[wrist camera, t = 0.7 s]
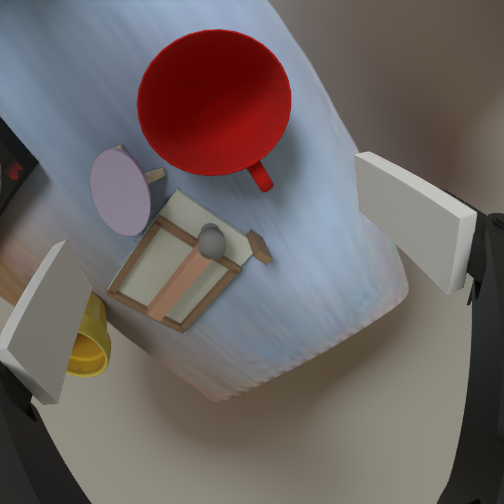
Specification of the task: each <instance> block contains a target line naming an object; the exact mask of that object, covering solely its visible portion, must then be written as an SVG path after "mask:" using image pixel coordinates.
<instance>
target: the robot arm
mask: <svg viewBox="0 0 504 504" xmlns="http://www.w3.org/2000/svg"><path fill="white" fill-rule="evenodd" d="M354 158H355V167H356V177H357V189H358V202H359V211H360V212H361V213H362V214H364V215H365V216H366V217H367V218H368V219H369V220H370V221H371V222H373V223H374V224H375V225H376V226H377V227H378V228H379V229H380V230H381V231H382V232H384V233H385V234H386V235H387V236H388V237H389V238H390V239H391V240H392V241H393V242H394V243H395V244H396V245H397V246H399V247H400V248H401V249H402V250H403V251H404V252H405V253H406V254H407V255H408V256H409V257H410V258H411V259H412V260H413V261H414V262H415V263H416V264H417V265H418V266H419V267H420V268H421V269H422V270H423V271H424V272H425V273H426V274H427V275H428V276H429V277H430V278H431V279H432V280H433V281H434V282H435V283H436V284H437V285H438V286H439V287H440V288H441V289H442V290H443V291H444V293H446V295H449V294H451V293H453V292H455V291H457V290H459V289H461V288H463V287H464V283H465V279H466V274H467V273H469V274H470V275H471V276H472V277H473V278H474V280H473V284H472V288H471V292H470V295H469V299H468V303H467V305H470V303H471V301H472V338H471V356H470V369H469V379H468V388H467V396H466V403H465V410H464V416H463V422H462V427H461V432H460V438H459V442H458V447H457V451H456V456H455V460H454V464H453V468H452V471H451V475H450V478H449V481H448V483H447V486H446V487H445V489H444V491H443V492H442V494H441V496H440V498H439V500H438V502H437V504H504V214H502V213H493V214H489V215H488V216H487V215H485V214H484V213H482V212H480V211H479V210H477V209H476V208H474V207H473V206H471V205H470V204H468V203H466V202H464V201H463V200H462V199H460V198H457V197H456V196H455V195H453V194H452V193H450V192H448V191H447V190H443V189H440V188H437V187H435V186H433V185H431V184H430V183H428V182H426V181H425V180H423V179H421V178H419V177H417V176H415V175H414V174H412V173H410V172H408V171H406V170H405V169H403V168H401V167H399V166H397V165H395V164H393V163H391V162H389V161H387V160H385V159H383V158H381V157H379V156H377V155H375V154H373V153H371V152H364V153H359V154H354ZM92 289H93V287H92V286H91V284H90V282H89V281H88V279H87V277H86V275H85V273H84V272H83V270H82V268H81V266H80V264H79V263H78V261H77V259H76V257H75V255H74V253H73V251H72V249H71V247H70V246H69V244H68V242H67V240H64V241H62V242H59V243H57V244H54V245H53V247H52V248H51V249H50V251H49V252H48V254H47V255H46V257H45V259H44V260H43V262H42V263H41V265H40V266H39V268H38V269H37V271H36V273H35V274H34V276H33V277H32V279H31V281H30V282H29V284H28V286H27V287H26V289H25V291H24V292H23V294H22V296H21V298H20V299H19V301H18V303H17V305H16V306H15V309H14V310H13V312H12V314H11V316H10V318H9V320H8V321H7V323H6V325H5V327H4V329H3V331H2V333H1V335H0V504H92V503H91V502H90V501H89V499H88V498H87V496H86V495H85V493H84V492H83V491H82V489H81V487H80V486H79V484H78V483H77V481H76V480H75V478H74V477H73V475H72V474H71V472H70V470H69V469H68V467H67V465H66V464H65V462H64V460H63V458H62V457H61V455H60V453H59V451H58V450H57V448H56V446H55V444H54V442H53V441H52V439H51V437H50V435H49V433H48V431H47V429H46V427H45V425H44V423H43V421H42V419H41V417H40V415H39V412H38V410H37V409H36V407H35V406H34V405H33V404H32V403H31V398H32V395H34V397H36V398H37V399H38V400H39V401H40V402H41V403H42V404H43V405H47V404H58V403H59V398H60V394H61V390H62V386H63V382H64V378H65V374H66V371H67V367H68V363H69V360H70V356H71V353H72V349H73V346H74V343H75V339H76V336H77V333H78V330H79V327H80V323H81V320H82V317H83V314H84V311H85V309H86V306H87V303H88V300H89V297H90V294H91V292H92Z"/></svg>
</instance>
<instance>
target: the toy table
mask: <svg viewBox="0 0 504 504" xmlns="http://www.w3.org/2000/svg"><path fill="white" fill-rule="evenodd" d="M165 175H166V172H165V169H164V168H159V169H155V170H152V171H148V172H145V173H144V172H143V170H142V169H141V167H140V165H139V164H138V163H137V161H136V160H135V159H134V158H133V157H132V156H131V155H130V154H129V153H127V152H126V151H124V148H123V145H119V146H115V147H114V148H109V149H106V150H104V151H103V152H101V153H100V154H99V155H98V156H97V158H96V159H95V161H94V163H93V165H92V168H91V172H90V191H91V196H92V199H93V203H94V205H95V208H96V210H97V212H98V213H99V215H100V217H101V218H102V220H103V221H104V222H105V223H106V224H107V225H108V226H109V227H110V228H111V229H112V230H113V231H115V232H116V233H118V234H120V235H124V236H135V235H137V234H139V233H140V232H141V231H142V230H143V229H144V228H145V226H146V224H147V222H148V219H149V215H150V210H151V196H150V189H149V184H150V183H152V182H154V181H156V180H158V179H160V178H162V177H164V176H165Z"/></svg>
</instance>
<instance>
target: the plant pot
mask: <svg viewBox="0 0 504 504" xmlns="http://www.w3.org/2000/svg"><path fill="white" fill-rule="evenodd" d="M110 351H111V340H110V337H109V334H108V333H107V323H106V308H105V305H104V303H103V302H102V300H101V299H100V298H99V297H98V296H97V295H95V294H93V293H92V292H91V294H90V297H89V300H88V303H87V306H86V309H85V311H84V314H83V317H82V320H81V323H80V327H79V330H78V333H77V336H76V339H75V343H74V346H73V349H72V353H71V356H70V360H69V363H68V367H67V371H66V373H67V374H69V375H73V376H78V377H93V376H97V375H99V374H101V373H102V372H104V371H105V369H106V368H107V366H108V364H109V358H110Z"/></svg>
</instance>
